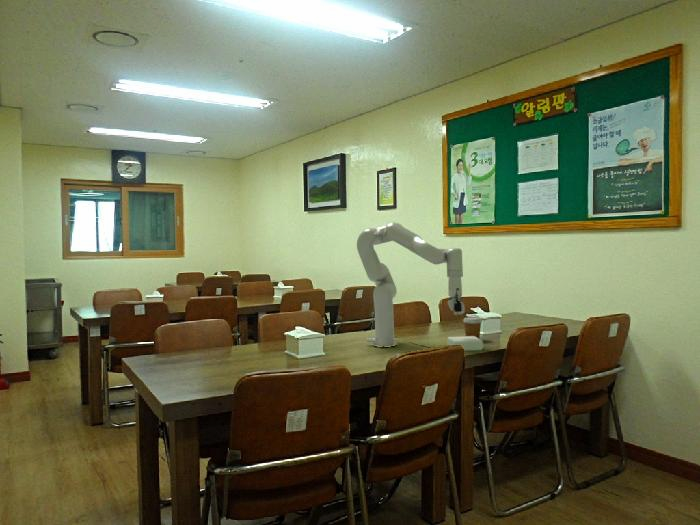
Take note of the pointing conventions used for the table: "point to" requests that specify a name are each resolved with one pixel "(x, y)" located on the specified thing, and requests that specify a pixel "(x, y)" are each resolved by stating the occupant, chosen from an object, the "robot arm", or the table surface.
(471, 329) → the disposable coffee cup
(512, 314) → the table surface
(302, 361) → the table surface
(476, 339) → the stand
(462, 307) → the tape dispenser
